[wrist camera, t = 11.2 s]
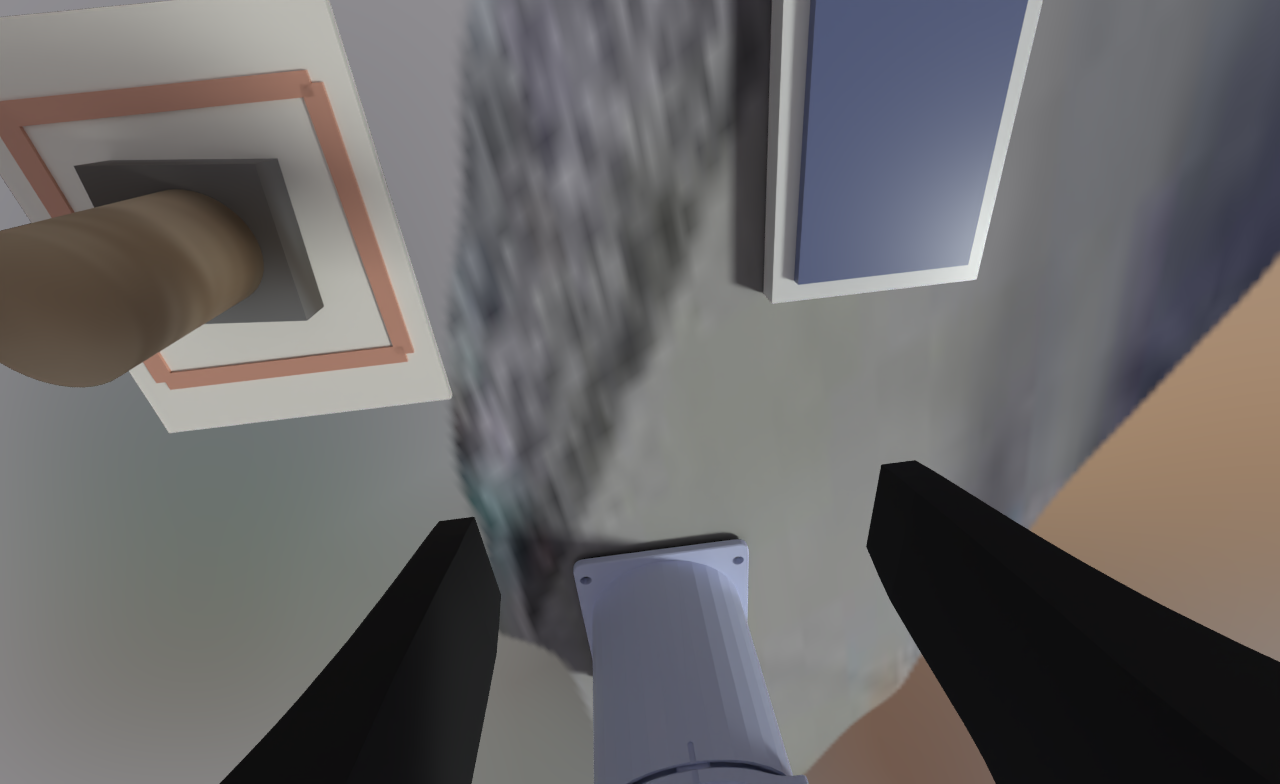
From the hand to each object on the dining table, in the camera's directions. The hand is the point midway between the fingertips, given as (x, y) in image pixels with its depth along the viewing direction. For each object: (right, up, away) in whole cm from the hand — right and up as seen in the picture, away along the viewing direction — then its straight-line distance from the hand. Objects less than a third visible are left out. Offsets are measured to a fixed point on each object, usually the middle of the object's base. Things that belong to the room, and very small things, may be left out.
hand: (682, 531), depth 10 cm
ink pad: (+7, +10, +7) cm, 14 cm away
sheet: (-13, +7, +7) cm, 16 cm away
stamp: (-13, +7, +6) cm, 16 cm away
